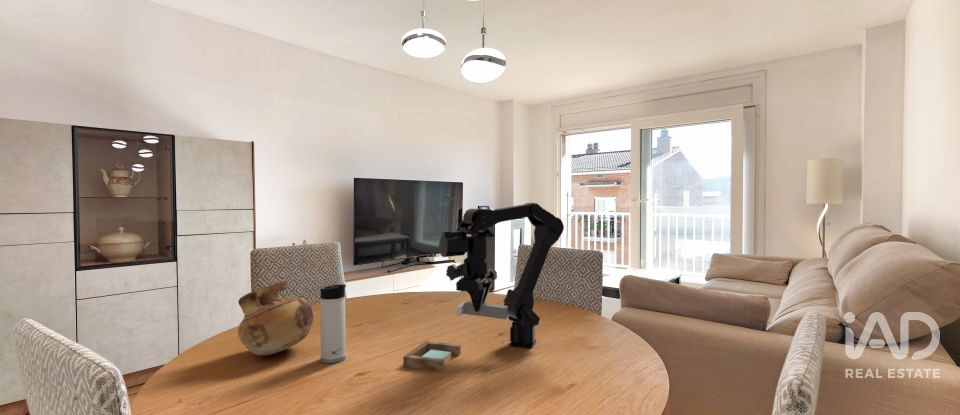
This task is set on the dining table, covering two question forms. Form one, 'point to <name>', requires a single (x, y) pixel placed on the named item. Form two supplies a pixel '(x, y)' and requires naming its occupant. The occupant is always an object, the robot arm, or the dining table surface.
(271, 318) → the clay pot
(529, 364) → the dining table surface
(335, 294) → the travel mug
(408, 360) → the bay
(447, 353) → the tile
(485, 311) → the pusher tool
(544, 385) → the dining table surface
